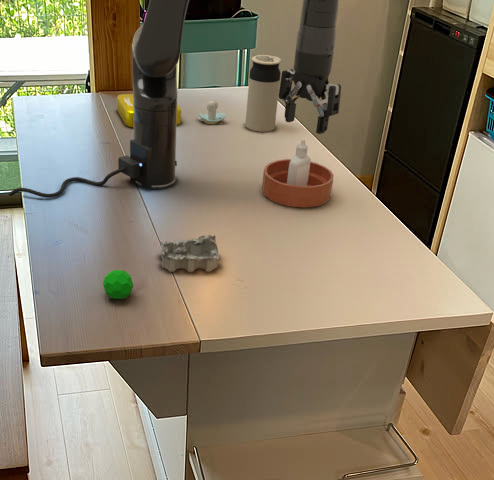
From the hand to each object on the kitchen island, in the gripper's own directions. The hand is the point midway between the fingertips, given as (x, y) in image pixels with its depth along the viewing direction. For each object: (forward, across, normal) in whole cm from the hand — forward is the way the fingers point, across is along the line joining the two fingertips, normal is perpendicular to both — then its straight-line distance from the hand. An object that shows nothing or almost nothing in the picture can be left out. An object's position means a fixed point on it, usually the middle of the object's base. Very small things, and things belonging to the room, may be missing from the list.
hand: (304, 127), depth 150 cm
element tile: (+15, -57, +4) cm, 59 cm away
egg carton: (+15, +8, -40) cm, 43 cm away
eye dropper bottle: (+15, 0, 0) cm, 15 cm away
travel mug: (+15, -34, +24) cm, 44 cm away
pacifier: (+15, -45, +16) cm, 50 cm away
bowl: (+15, 0, 0) cm, 15 cm away
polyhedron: (+15, +9, -57) cm, 59 cm away
